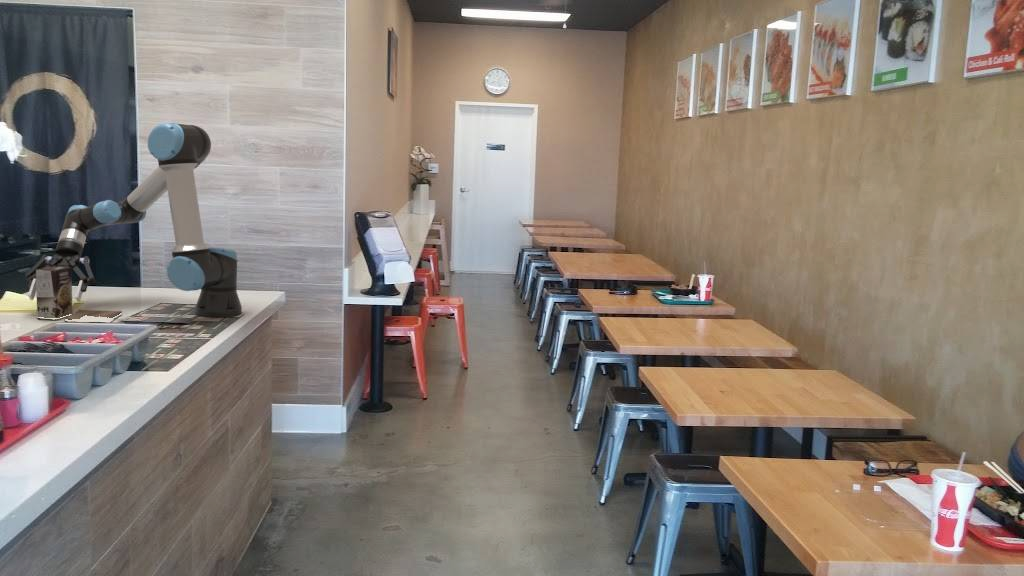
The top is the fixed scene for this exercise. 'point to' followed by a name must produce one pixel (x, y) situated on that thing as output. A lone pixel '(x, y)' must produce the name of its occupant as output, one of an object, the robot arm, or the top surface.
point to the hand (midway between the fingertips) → (54, 298)
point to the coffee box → (54, 291)
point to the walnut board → (93, 314)
